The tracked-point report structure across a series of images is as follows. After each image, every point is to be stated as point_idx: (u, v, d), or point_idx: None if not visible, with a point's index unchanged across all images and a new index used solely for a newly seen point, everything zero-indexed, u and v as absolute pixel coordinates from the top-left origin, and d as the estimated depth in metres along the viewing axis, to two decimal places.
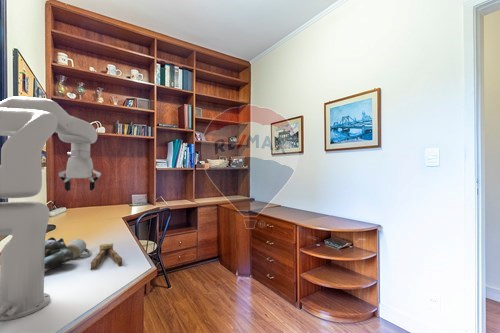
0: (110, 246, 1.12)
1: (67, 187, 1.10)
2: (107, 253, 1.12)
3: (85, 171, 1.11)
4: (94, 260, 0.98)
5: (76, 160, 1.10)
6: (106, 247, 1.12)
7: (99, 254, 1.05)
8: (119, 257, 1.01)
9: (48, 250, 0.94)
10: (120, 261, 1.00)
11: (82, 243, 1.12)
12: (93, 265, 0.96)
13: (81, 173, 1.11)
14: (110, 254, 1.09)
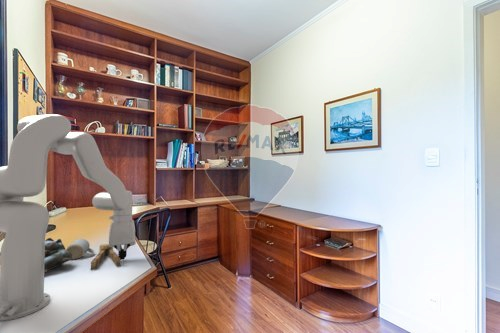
0: None
1: (121, 256, 1.04)
2: (107, 253, 1.12)
3: (128, 236, 1.03)
4: (94, 260, 0.98)
5: (118, 226, 1.02)
6: (106, 247, 1.12)
7: (99, 254, 1.05)
8: (117, 257, 1.01)
9: (46, 251, 0.93)
10: (118, 261, 1.00)
11: (86, 242, 1.13)
12: (93, 265, 0.96)
13: (124, 239, 1.03)
14: (109, 254, 1.09)
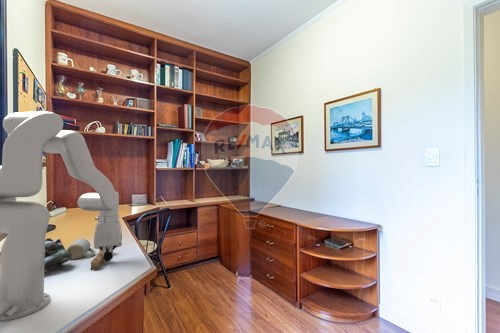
0: None
1: (106, 258, 1.02)
2: None
3: (114, 238, 1.01)
4: (94, 260, 0.98)
5: (104, 227, 1.00)
6: None
7: (99, 254, 1.05)
8: (98, 260, 0.97)
9: (46, 251, 0.93)
10: (96, 265, 0.96)
11: (87, 242, 1.13)
12: (93, 265, 0.96)
13: (110, 240, 1.01)
14: None
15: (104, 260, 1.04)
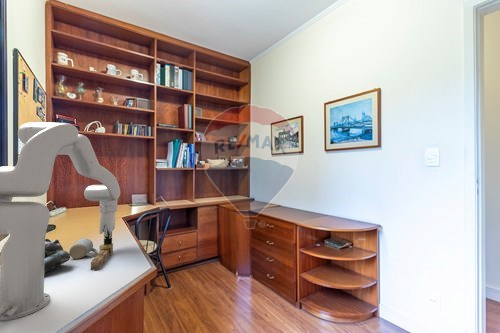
0: (110, 246, 1.12)
1: None
2: None
3: None
4: (94, 260, 0.98)
5: None
6: (106, 247, 1.12)
7: (99, 254, 1.05)
8: (98, 260, 0.97)
9: (45, 252, 0.92)
10: (96, 265, 0.96)
11: (89, 242, 1.13)
12: (93, 265, 0.96)
13: None
14: None
15: (104, 260, 1.04)
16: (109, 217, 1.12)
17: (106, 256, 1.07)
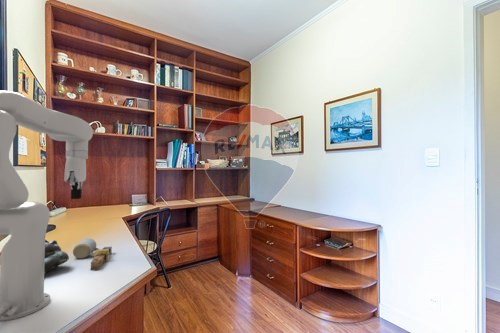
0: (106, 252, 1.05)
1: None
2: None
3: None
4: (94, 260, 0.98)
5: None
6: (101, 253, 1.04)
7: None
8: (98, 260, 0.97)
9: None
10: (96, 265, 0.96)
11: (93, 242, 1.14)
12: (93, 265, 0.96)
13: None
14: None
15: (104, 260, 1.04)
16: (76, 162, 0.94)
17: None
